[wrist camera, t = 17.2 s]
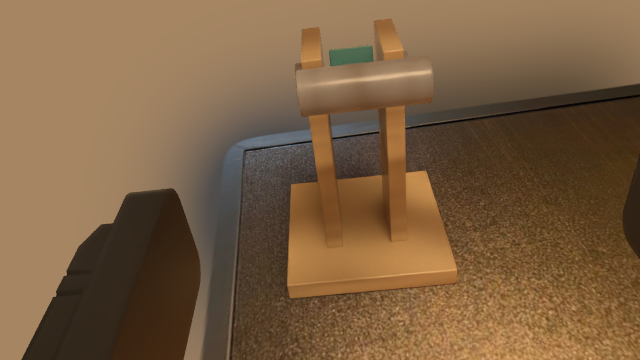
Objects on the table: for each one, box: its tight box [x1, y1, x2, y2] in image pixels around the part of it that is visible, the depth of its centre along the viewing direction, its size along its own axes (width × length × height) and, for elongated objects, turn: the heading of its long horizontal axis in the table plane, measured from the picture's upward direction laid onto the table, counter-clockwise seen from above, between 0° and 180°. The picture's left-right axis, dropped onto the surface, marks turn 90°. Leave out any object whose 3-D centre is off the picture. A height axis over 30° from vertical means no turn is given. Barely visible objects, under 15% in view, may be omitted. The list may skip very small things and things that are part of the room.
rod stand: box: [287, 19, 458, 298], centre depth 31 cm, size 10×10×14 cm
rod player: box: [296, 45, 434, 117], centre depth 23 cm, size 13×4×2 cm, turn 1°
